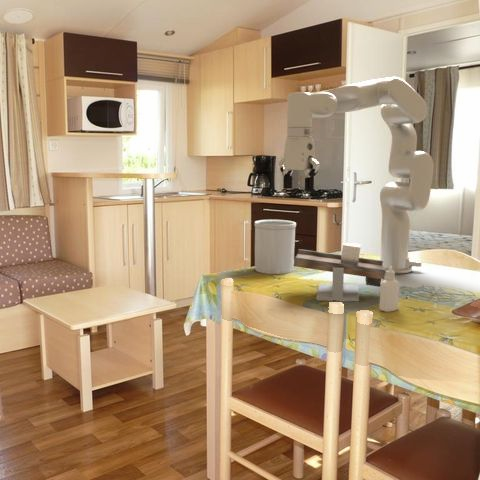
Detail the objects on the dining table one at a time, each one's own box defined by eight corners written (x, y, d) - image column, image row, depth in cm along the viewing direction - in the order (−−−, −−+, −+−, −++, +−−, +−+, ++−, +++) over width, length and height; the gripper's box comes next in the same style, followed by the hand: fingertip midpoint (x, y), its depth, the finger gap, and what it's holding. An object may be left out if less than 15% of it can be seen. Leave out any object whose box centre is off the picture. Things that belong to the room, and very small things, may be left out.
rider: (357, 263, 176) (360, 244, 175) (357, 267, 171) (360, 247, 170) (340, 261, 177) (343, 242, 176) (340, 264, 172) (343, 244, 171)
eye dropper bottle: (376, 307, 161) (377, 265, 159) (395, 307, 161) (397, 264, 159) (381, 312, 157) (383, 268, 155) (401, 311, 157) (403, 268, 155)
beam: (379, 278, 180) (382, 260, 179) (382, 289, 166) (385, 270, 165) (296, 266, 184) (298, 249, 183) (292, 276, 171) (294, 257, 170)
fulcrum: (357, 287, 183) (358, 258, 182) (358, 302, 167) (359, 269, 165) (319, 286, 185) (320, 256, 184) (316, 300, 169) (317, 267, 167)
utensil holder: (299, 267, 214) (300, 220, 211) (289, 276, 200) (290, 225, 197) (261, 265, 219) (261, 218, 216) (248, 273, 205) (248, 223, 202)
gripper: (328, 133, 174) (326, 190, 177) (289, 134, 187) (288, 187, 190) (310, 133, 169) (309, 192, 172) (271, 134, 183) (270, 188, 186)
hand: (298, 189), depth 181 cm, fingers open, 9 cm apart
